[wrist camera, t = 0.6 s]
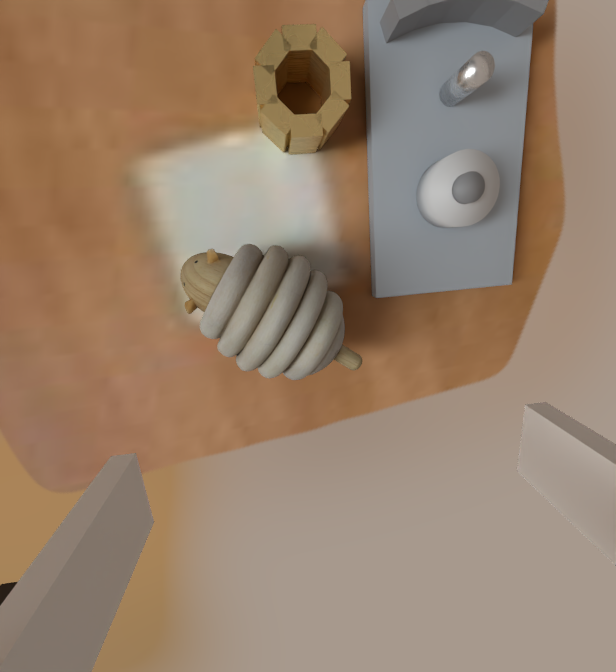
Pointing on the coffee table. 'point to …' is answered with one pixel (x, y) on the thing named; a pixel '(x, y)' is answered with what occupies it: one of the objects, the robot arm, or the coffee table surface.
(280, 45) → the gold octagonal ring
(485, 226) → the carrier plate
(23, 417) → the coffee table surface
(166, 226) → the coffee table surface
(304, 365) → the toy sheep
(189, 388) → the coffee table surface
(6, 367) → the coffee table surface
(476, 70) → the pin
